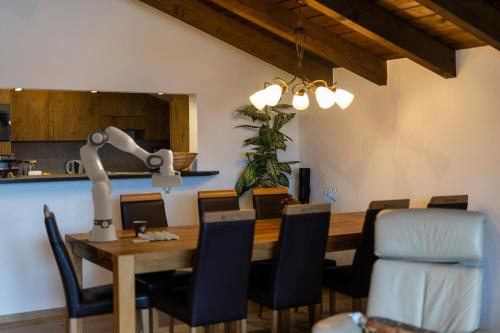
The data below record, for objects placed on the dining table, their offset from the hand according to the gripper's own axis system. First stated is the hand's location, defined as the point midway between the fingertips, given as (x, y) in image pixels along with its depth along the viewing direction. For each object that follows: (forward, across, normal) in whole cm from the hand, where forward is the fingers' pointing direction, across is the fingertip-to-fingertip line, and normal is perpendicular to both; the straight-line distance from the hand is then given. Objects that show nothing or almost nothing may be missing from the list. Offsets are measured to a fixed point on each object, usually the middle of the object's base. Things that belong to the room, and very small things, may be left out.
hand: (167, 193), depth 453 cm
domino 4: (+28, -3, -13) cm, 31 cm away
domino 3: (+28, -8, -13) cm, 32 cm away
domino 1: (+29, -17, -12) cm, 35 cm away
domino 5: (+28, +2, -13) cm, 31 cm away
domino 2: (+28, -14, -12) cm, 33 cm away
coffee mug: (+29, -14, +12) cm, 35 cm away
